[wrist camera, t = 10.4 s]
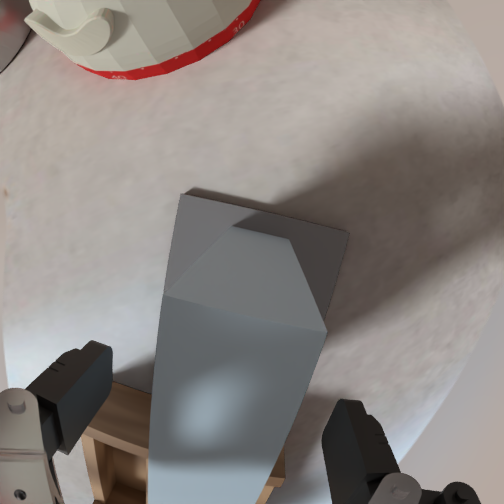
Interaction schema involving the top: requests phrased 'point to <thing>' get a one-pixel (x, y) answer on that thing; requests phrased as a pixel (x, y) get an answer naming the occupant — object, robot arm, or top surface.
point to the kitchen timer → (138, 32)
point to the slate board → (230, 370)
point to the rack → (132, 450)
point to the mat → (297, 231)
